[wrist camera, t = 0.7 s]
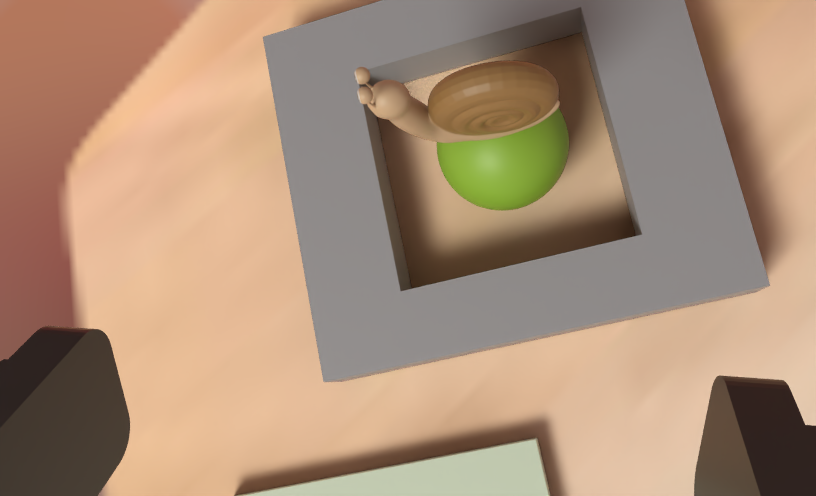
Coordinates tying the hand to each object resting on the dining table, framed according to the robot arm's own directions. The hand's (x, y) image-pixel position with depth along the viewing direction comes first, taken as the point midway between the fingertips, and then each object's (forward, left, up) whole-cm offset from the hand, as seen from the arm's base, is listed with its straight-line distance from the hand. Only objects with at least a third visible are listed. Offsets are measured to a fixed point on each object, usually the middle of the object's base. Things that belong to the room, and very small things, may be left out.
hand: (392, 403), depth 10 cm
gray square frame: (-1, -10, -24) cm, 26 cm away
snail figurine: (-1, -10, -24) cm, 26 cm away
